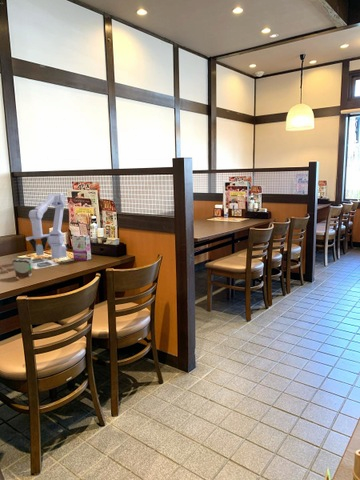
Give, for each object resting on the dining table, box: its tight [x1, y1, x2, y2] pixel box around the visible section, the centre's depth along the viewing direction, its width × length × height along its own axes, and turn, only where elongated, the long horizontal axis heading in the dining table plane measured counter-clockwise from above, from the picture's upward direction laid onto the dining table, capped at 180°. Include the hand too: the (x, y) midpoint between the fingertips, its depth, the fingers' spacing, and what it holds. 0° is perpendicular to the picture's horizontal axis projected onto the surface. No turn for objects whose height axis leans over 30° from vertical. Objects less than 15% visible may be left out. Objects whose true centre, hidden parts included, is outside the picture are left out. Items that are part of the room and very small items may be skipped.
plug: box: [35, 243, 44, 256], centre depth 223 cm, size 4×4×7 cm
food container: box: [12, 256, 33, 278], centre depth 200 cm, size 12×6×10 cm, turn 71°
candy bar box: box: [71, 234, 92, 261], centre depth 233 cm, size 11×5×16 cm, turn 68°
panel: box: [31, 257, 60, 270], centre depth 225 cm, size 15×24×2 cm, turn 41°
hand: (39, 250), depth 223 cm, fingers closed on plug, 5 cm apart
